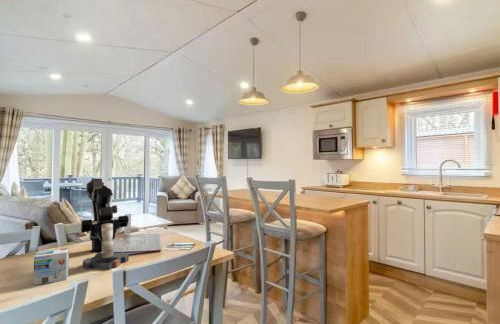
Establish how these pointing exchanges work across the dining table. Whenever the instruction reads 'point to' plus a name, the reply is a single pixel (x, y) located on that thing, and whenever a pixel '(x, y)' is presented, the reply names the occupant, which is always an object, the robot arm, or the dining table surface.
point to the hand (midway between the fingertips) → (107, 239)
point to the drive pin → (107, 240)
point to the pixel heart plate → (101, 263)
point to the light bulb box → (51, 266)
